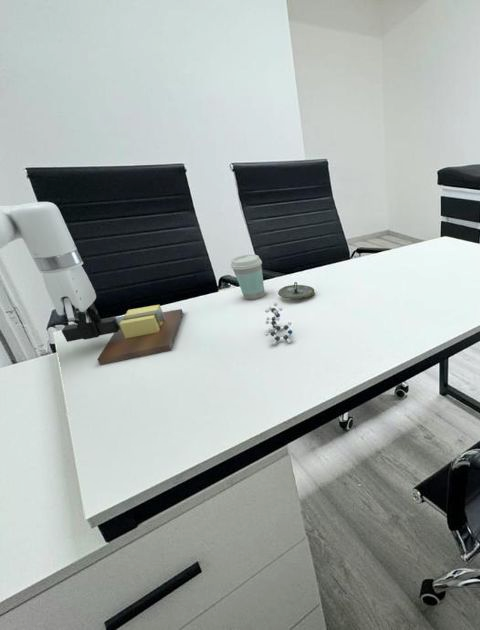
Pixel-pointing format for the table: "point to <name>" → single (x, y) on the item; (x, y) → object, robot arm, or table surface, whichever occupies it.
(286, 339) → the molecule model
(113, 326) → the knife
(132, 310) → the butter block
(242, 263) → the coffee cup
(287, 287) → the lid
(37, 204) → the robot arm
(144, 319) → the butter slice
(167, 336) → the board
